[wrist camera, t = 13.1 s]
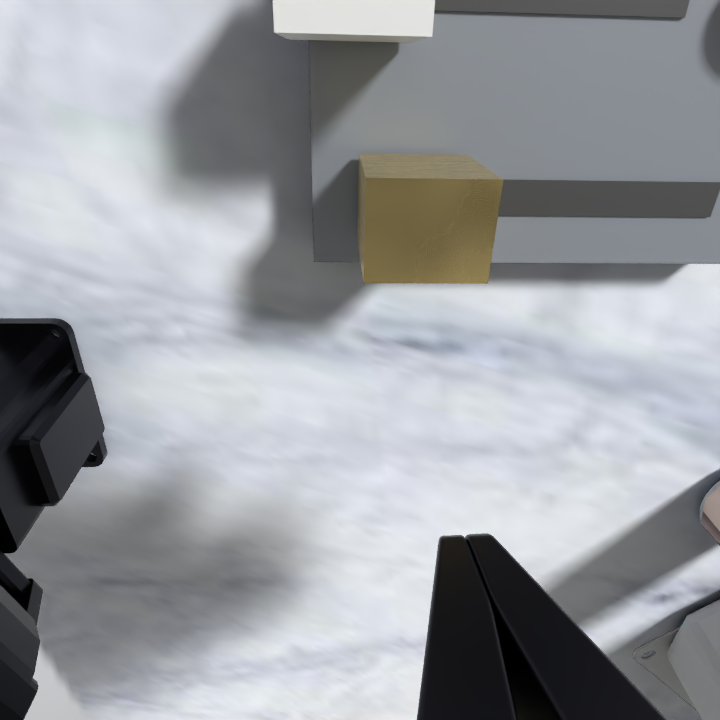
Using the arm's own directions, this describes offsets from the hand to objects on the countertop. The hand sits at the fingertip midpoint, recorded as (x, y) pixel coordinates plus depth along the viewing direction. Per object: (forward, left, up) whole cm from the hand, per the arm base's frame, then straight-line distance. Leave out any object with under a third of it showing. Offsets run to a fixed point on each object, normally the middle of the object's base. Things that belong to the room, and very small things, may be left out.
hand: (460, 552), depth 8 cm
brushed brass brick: (0, +4, -9) cm, 10 cm away
